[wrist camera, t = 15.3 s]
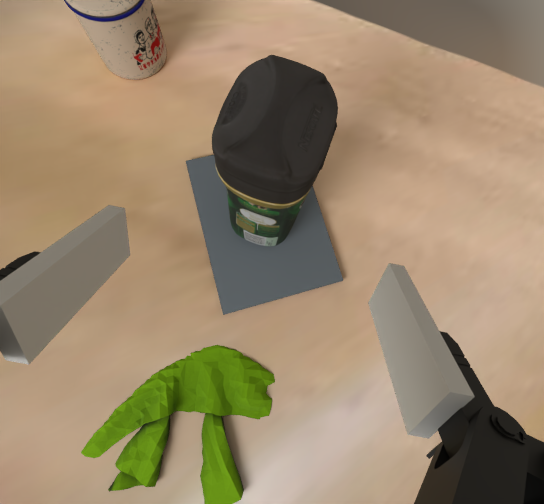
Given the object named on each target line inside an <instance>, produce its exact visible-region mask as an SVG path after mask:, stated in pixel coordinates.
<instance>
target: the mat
mask: <svg viewBox="0 0 544 504" xmlns="http://www.w3.org/2000/svg"><path fill="white" fill-rule="evenodd" d="M186 164H187V168H188V172H189V176H190V180H191V185H192V189H193V193H194V197H195V201H196V205H197V209H198V213H199V217H200V221H201V225H202V230H203V234H204V238H205V242H206V246H207V250H208V254H209V258H210V262H211V266H212V270H213V274H214V279H215V283H216V287H217V291H218V295H219V299H220V303H221V307H222V311H223V315H224V314H228V313H231V312H235V311H238V310H242V309H245V308H249V307H252V306H256V305H259V304H263V303H266V302H270V301H273V300H277V299H280V298H284V297H287V296H291V295H294V294H298V293H301V292H305V291H308V290H312V289H315V288H319V287H322V286H326V285H329V284H333V283H336V282H340V281H343V278H342V275H341V272H340V269H339V266H338V262H337V259H336V256H335V253H334V250H333V247H332V244H331V241H330V238H329V235H328V232H327V229H326V226H325V223H324V219H323V216H322V213H321V210H320V207H319V204H318V201H317V198H316V195H315V192H314V189H313V186H312V187H311V189H310V191H309V193H308V195H307V197H306V199H305V201H304V203H303V205H302V207H301V209H300V211H299V213H298V215H297V218H296V220H295V222H294V224H293V226H292V228H291V230H290V232H289V234H288V236H287V237H286V239H285V240H284V241H283V242H281V243H280V244H278V245H276V246H263V245H259V244H255V243H252V242H250V241H248V240H246V239H244V238H242V237H240V236H239V235H237V234H236V233H235V231H234V230H233V228H232V226H231V222H230V216H229V206H228V197H227V190H226V186H225V185H224V183H223V182H222V180H221V179H220V177H219V175H218V172H217V170H216V165H215V157H214V155H211V156H207V157H202V158H197V159H192V160H188V161H186Z"/></svg>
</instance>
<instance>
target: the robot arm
mask: <svg viewBox="0 0 544 504" xmlns="http://www.w3.org/2000/svg"><path fill="white" fill-rule="evenodd" d="M129 256H130V249H129V240H128V231H127V222H126V213H125V208H121V207H116V206H111V205H108V206H107V207H105V208H104V209H103V210H101V211H100V212H98V213H97V214H95V215H94V216H92V217H91V218H90V219H88V220H87V221H85V222H84V223H82V224H81V225H80V226H78V227H77V228H75V229H74V230H72V231H71V232H70V233H68V234H67V235H65V236H64V237H62V238H61V239H60V240H58V241H57V242H55V243H54V244H52V245H51V246H50V247H48V248H47V249H45V250H44V251H42V252H41V253H40V252H32V253H30V254H27V255H25V256H22V257H19V258H17V259H16V260H14V261H13V262H11V263H10V264H8V265H7V266H6V268H2V269H1V270H0V351H1V352H2V354H3V356H4V358H5V360H8V361H13V362H18V363H24V364H30V363H31V362H32V361H33V360H34V359H35V357H36V356H37V355H38V354H39V353H40V352H41V351H42V350H43V349H44V348H45V347H46V346H47V345H48V343H49V342H50V341H51V340H52V339H53V338H54V337H55V336H56V335H57V334H58V333H59V332H60V330H61V329H62V328H63V327H64V326H65V325H66V324H67V323H68V322H69V321H70V320H71V319H72V317H73V316H74V315H75V314H76V313H77V312H78V311H79V310H80V309H81V308H82V307H83V306H84V304H85V303H86V302H87V301H88V300H89V299H90V298H91V297H92V296H93V295H94V294H95V293H96V291H97V290H98V289H99V288H100V287H101V286H102V285H103V284H104V283H105V282H106V281H107V280H108V278H109V277H110V276H111V275H112V274H113V273H114V272H115V271H116V270H117V269H118V268H119V267H120V265H121V264H122V263H123V262H124V261H125V260H126V259H127V258H128V257H129ZM368 304H369V307H370V310H371V314H372V317H373V320H374V324H375V327H376V330H377V334H378V337H379V340H380V344H381V347H382V350H383V354H384V357H385V360H386V364H387V367H388V370H389V374H390V377H391V380H392V384H393V387H394V390H395V394H396V397H397V400H398V404H399V407H400V410H401V414H402V417H403V420H404V424H405V427H406V430H407V434H408V435H413V436H418V437H423V438H430V437H431V436H432V435H433V434H434V433H435V432H436V431H438V432H439V434H440V437H441V439H442V442H441V443H440V444H438V445H437V446H436V447H435V448H434V449H433V450H431V451H430V452H429V453H428V454H427V457H428V458H429V459H430V458H431V457H432V456H433V455H434V456H433V458H432V461H431V463H430V466H429V468H428V471H427V473H426V476H425V478H424V481H423V483H422V485H421V488H420V490H419V493H418V495H417V498H416V500H415V503H414V504H544V442H542V441H540V440H537V439H535V438H533V437H531V436H529V435H527V434H526V433H525V431H524V429H523V428H522V427H521V426H520V424H519V423H518V422H517V421H516V420H515V419H514V418H513V417H512V416H510V415H509V414H508V413H507V412H505V411H503V410H502V409H500V408H498V407H495V406H494V405H493V404H492V402H491V400H490V399H489V397H488V395H487V393H486V392H485V390H484V388H483V387H482V385H481V383H480V381H479V380H478V378H477V376H476V375H475V373H474V371H473V369H472V368H470V364H469V363H468V361H467V359H466V358H464V354H463V352H462V351H461V349H460V347H459V345H458V344H457V343H456V342H455V341H454V340H453V339H452V338H451V337H450V336H449V334H448V333H445V332H440V331H439V330H438V328H437V326H436V324H435V322H434V320H433V319H432V317H431V315H430V313H429V311H428V309H427V308H426V306H425V304H424V302H423V300H422V298H421V296H420V295H419V293H418V291H417V289H416V287H415V285H414V284H413V282H412V280H411V278H410V276H409V274H408V273H407V271H406V269H405V267H404V266H401V265H396V264H391V263H389V264H388V266H387V268H386V270H385V272H384V274H383V276H382V278H381V279H380V281H379V283H378V285H377V287H376V289H375V291H374V293H373V295H372V297H371V299H370V300H369V302H368Z"/></svg>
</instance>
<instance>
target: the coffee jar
mask: <svg viewBox="0 0 544 504" xmlns="http://www.w3.org/2000/svg"><path fill="white" fill-rule="evenodd" d="M337 113H338V105H337V99H336V96H335V93H334V91H333V88H332V87H331V85H330V83H329V82H328V81H327V79H326V77H325V75H324V74H323V73H321V72H319V71H317V70H315V69H312V68H310V67H308V66H306V65H303V64H300V63H298V62H295V61H292V60H289V59H286V58H282V57H279V56H275V55H270V56H268V57H267V58H264V59H261V60H259V61H256V62H254V63H253V64H251V65H250V66H248V67H247V68H246V69H245V70H243V71H242V72H241V74H240V75H239V76H238V78H237V79H236V81H235V83H234V85H233V86H232V88H231V90H230V92H229V94H228V96H227V98H226V100H225V102H224V104H223V106H222V109H221V111H220V114H219V116H218V119H217V122H216V125H215V127H214V130H213V134H212V149H213V153H214V157H215V165H216V170H217V172H218V175H219V177H220V179H221V180H222V182H223V183H224V185H225V186H226V190H227V197H228V206H229V216H230V222H231V226H232V228H233V230H234V231H235V233H236V234H237V235H239V236H240V237H242V238H244V239H246V240H248V241H250V242H252V243H255V244H259V245H263V246H276V245H278V244H280V243H281V242H283V241H284V240H285V239H286V237H287V236H288V234H289V232H290V230H291V228H292V226H293V224H294V222H295V220H296V218H297V215H298V213H299V211H300V209H301V207H302V205H303V203H304V201H305V199H306V197H307V195H308V193H309V191H310V189H311V187H312V185H313V183H314V181H315V179H316V177H317V175H318V173H319V171H320V170H321V169H322V167H323V164H324V161H325V158H326V155H327V152H328V150H329V147H330V143H331V141H332V138H333V135H334V133H335V130H336V127H337V123H336V119H337Z"/></svg>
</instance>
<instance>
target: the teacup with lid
mask: <svg viewBox="0 0 544 504" xmlns="http://www.w3.org/2000/svg"><path fill="white" fill-rule="evenodd" d="M64 1H65V3H66V4H67V5H68V7H69V8H70V9H71V10H72V11H74V13H75V15H76V17H77V18H78V20H79V22H80V23H81V25H82V27H83V28H84V30H85V32H86V33H87V35H88V37H89V38H90V40H91V42H92V43H93V45H94V47H95V48H96V50H97V52H98V53H99V55H100V57H101V58H102V60H103V62H104V63H105V65H106V66H107V67H108V69H109V70H110V71H112V72H113V73H114V74H116V75H118V76H120V77H122V78H126V79H132V80H138V79H144V78H147V77H150V76H152V75H154V74H155V73H156V72H158V71H159V70H160V69H161V67H162V66H163V64H164V62H165V60H166V55H167V50H166V45H165V42H164V39H163V36H162V33H161V30H160V27H159V24H158V21H157V18H156V15H155V12H154V9H153V6H152V2H151V0H64Z"/></svg>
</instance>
